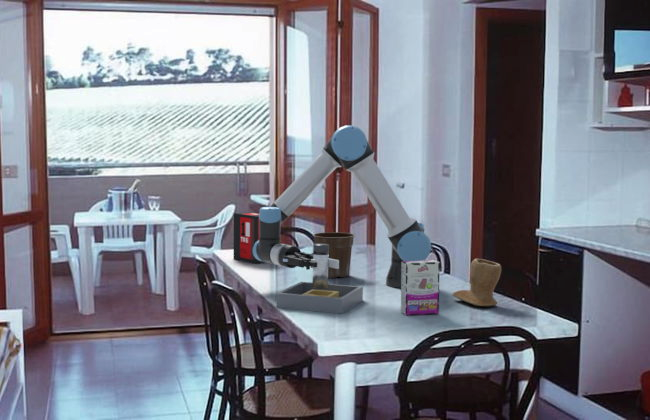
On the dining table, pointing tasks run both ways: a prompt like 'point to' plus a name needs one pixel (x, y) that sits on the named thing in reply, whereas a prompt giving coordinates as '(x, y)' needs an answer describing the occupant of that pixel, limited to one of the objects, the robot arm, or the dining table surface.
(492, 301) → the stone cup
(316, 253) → the two-tone metal cylinder
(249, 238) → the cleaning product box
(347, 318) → the dining table surface
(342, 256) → the plant pot
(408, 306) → the candy bar box
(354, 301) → the walled tray
